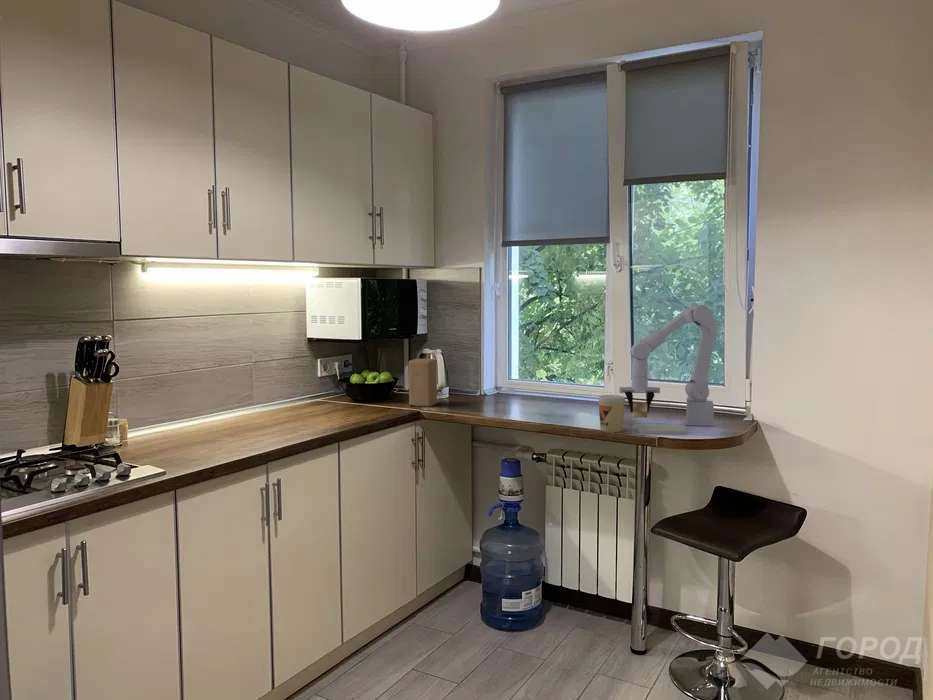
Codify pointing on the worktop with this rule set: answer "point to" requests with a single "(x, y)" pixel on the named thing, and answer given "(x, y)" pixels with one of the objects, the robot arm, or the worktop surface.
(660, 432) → the gray board
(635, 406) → the maple cube
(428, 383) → the wooden block
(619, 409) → the coffee cup
